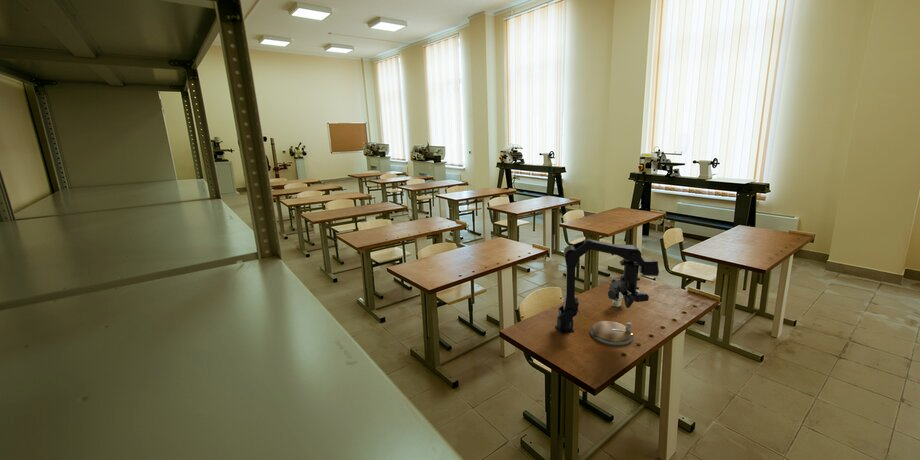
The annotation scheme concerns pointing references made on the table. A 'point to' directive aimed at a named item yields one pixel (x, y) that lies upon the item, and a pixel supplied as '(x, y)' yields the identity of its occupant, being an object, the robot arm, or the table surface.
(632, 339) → the dial housing
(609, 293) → the pneumatic valve
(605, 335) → the dial
